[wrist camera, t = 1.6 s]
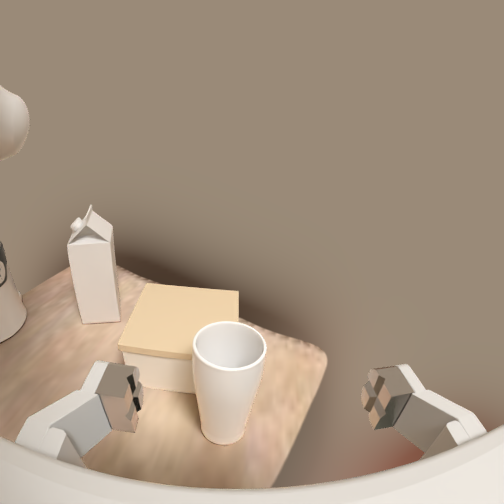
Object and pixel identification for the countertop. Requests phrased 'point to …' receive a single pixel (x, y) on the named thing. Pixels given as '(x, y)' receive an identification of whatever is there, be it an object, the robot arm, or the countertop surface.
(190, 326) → the painted box
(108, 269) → the milk carton
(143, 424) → the countertop surface
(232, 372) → the white ceramic cup
